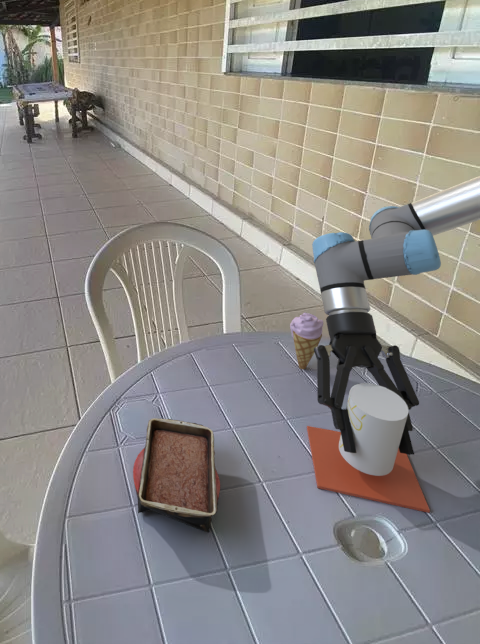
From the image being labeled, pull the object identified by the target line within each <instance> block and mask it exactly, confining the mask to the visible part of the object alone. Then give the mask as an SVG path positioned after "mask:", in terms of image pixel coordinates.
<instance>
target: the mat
mask: <svg viewBox="0 0 480 644" xmlns="http://www.w3.org/2000/svg"><path fill="white" fill-rule="evenodd" d="M306 431H307V438H308V443H309V449H310V454H311V460H312V466H313V471H314V472H313V473H314V477H315V484H316V488H317V489H320V490H324V491H329V492H332V493H338V494H342V495H346V496H351V497H355V498H360V499H365V500H370V501H373V502H378V503H383V504H387V505H392V506H396V507H401V508H406V509H410V510H414V511H418V512H423V513H429V514H430V512H431V510H430V507H429V505H428V502H427V500H426V497H425V495H424V492H423V490H422V488H421V485H420V483H419V480H418V478H417V476H416V473H415V471H414V469H413V466H412V464H411V461H410V459H409V457H408V454H404V453H400V451H399V448H398V452H397V455H396V459H395V463H394V466H393V469H392V471H391V472H390V473H389V474H386V475H383V476H375V475H370V474H366V473H364V472H361V471H359V470H357V469H356V468H354V467H353V466H351V465H350V464H349V463H348V462H347V461H346V460H345V459H344V458H343V456H342V455H341V453H340V450H339V441H340V436H341V431H337V430H333V429H328V428H327V429H326V428H322V427H317V426H311V425H306Z"/></svg>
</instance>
